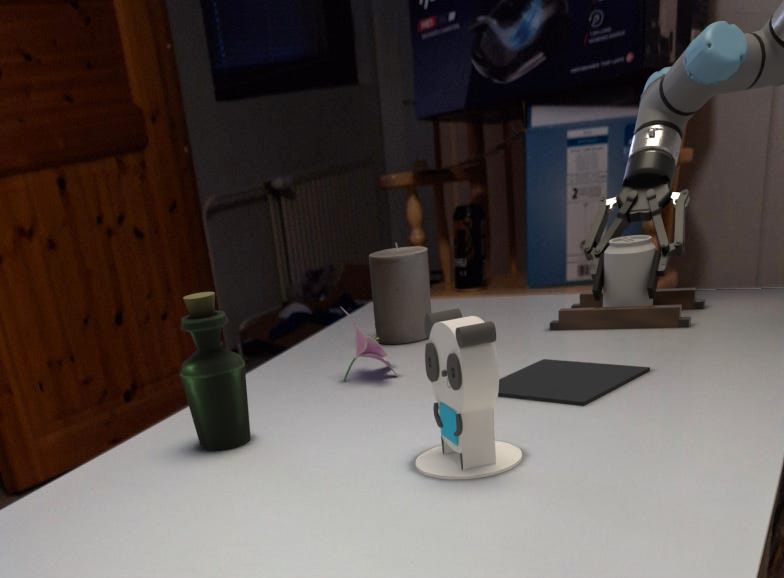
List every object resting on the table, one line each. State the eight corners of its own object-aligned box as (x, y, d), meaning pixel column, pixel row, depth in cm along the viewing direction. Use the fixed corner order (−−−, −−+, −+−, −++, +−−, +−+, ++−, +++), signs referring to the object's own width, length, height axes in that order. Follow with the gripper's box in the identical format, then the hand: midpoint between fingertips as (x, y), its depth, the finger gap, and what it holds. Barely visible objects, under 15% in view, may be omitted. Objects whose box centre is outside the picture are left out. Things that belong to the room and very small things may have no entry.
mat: (650, 371, 121) (650, 367, 120) (583, 406, 112) (583, 402, 111) (543, 362, 131) (543, 358, 131) (475, 394, 122) (474, 390, 122)
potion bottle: (250, 428, 122) (226, 285, 114) (263, 444, 115) (238, 293, 107) (190, 440, 121) (161, 297, 112) (199, 458, 114) (168, 306, 105)
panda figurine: (400, 454, 105) (388, 317, 98) (495, 435, 107) (490, 299, 99) (435, 487, 95) (425, 337, 88) (539, 465, 96) (537, 316, 89)
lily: (383, 397, 131) (408, 329, 128) (307, 368, 132) (330, 300, 129) (395, 399, 142) (419, 337, 139) (325, 373, 144) (347, 311, 141)
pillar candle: (364, 344, 157) (355, 249, 150) (398, 330, 163) (390, 238, 156) (412, 345, 151) (404, 247, 144) (445, 331, 157) (439, 236, 150)
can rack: (705, 306, 147) (706, 287, 146) (688, 327, 137) (690, 306, 136) (573, 311, 157) (573, 292, 156) (549, 330, 147) (549, 310, 146)
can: (624, 326, 143) (627, 243, 137) (592, 320, 149) (593, 240, 143) (663, 316, 145) (667, 234, 139) (629, 311, 151) (632, 232, 146)
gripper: (581, 156, 148) (552, 283, 144) (719, 140, 138) (691, 276, 134) (590, 188, 155) (562, 310, 151) (722, 175, 145) (695, 306, 141)
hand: (622, 294), depth 143 cm, fingers closed on can, 7 cm apart
